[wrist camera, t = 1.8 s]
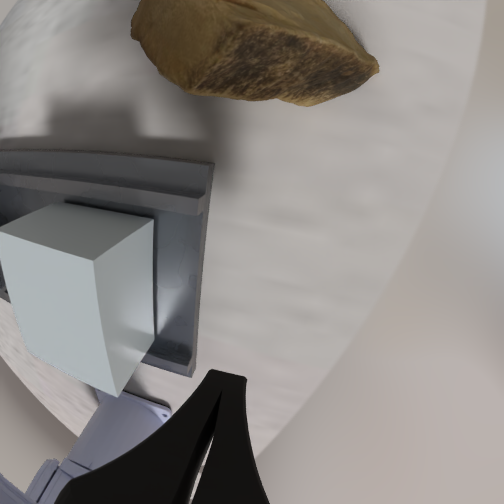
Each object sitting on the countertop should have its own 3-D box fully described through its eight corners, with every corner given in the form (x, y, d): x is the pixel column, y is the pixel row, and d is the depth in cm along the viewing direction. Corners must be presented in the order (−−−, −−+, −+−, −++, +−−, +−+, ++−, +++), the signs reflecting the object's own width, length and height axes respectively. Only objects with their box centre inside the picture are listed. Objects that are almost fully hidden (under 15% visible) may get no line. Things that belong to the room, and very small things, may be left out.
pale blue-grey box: (155, 361, 18) (123, 417, 14) (58, 322, 19) (18, 361, 14) (153, 219, 14) (93, 260, 10) (38, 198, 15) (-22, 223, 10)
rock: (87, 34, 10) (161, 190, 11) (84, -100, 2) (203, 39, 3) (257, -4, 13) (343, 113, 15) (319, -95, 5) (461, 39, 7)
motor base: (195, 368, 20) (167, 433, 14) (-12, 282, 22) (-48, 308, 16) (214, 163, 14) (162, 183, 9) (-29, 151, 16) (-76, 166, 10)
